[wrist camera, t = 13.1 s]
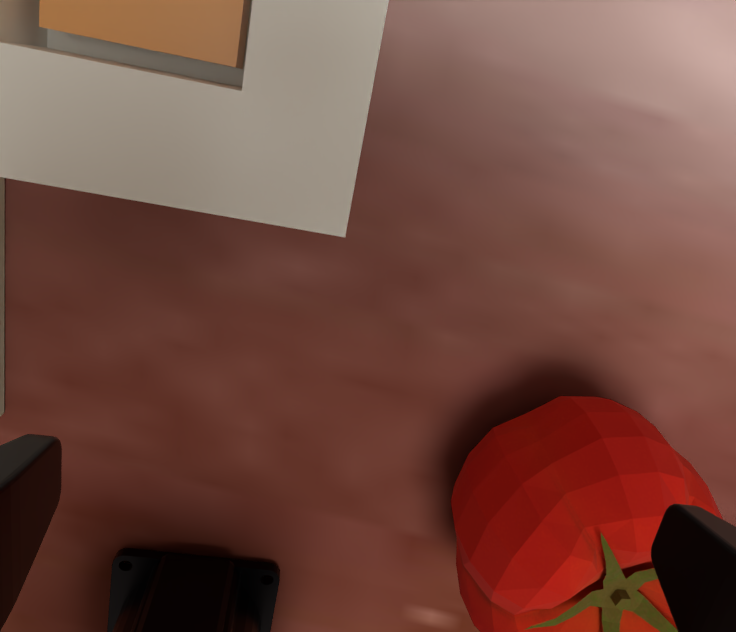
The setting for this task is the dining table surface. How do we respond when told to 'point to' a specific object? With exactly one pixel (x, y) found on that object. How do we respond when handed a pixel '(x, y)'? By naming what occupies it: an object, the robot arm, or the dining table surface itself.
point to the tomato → (569, 520)
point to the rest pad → (2, 289)
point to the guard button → (158, 25)
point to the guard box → (198, 114)
